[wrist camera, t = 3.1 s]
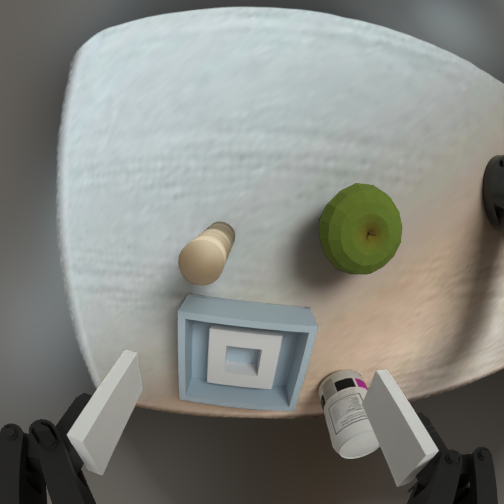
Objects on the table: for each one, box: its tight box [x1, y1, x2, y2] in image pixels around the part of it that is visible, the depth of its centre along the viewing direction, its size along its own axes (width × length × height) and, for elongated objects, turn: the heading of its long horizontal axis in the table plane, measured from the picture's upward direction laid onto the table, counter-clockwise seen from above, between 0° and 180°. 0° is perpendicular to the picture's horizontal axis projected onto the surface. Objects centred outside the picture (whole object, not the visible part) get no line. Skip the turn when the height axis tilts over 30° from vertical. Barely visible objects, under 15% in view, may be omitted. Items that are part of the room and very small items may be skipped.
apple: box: [319, 183, 402, 274], centre depth 32 cm, size 11×10×10 cm
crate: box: [178, 294, 318, 411], centre depth 38 cm, size 16×18×6 cm
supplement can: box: [319, 370, 380, 459], centre depth 36 cm, size 8×8×15 cm
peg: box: [178, 222, 235, 285], centre depth 30 cm, size 4×4×14 cm
